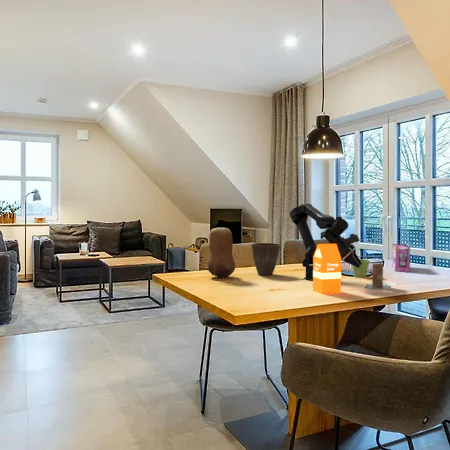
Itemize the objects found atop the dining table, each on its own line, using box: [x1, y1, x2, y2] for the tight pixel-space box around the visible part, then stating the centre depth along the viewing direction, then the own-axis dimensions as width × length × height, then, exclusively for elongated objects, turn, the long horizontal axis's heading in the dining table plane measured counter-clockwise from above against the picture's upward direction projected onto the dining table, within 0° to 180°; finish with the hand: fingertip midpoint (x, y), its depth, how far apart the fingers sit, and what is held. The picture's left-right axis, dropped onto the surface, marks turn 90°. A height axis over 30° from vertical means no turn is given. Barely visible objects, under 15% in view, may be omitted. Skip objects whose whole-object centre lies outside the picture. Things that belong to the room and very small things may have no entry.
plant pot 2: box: [351, 258, 371, 279], centre depth 222 cm, size 9×9×9 cm
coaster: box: [364, 283, 391, 291], centre depth 192 cm, size 10×10×1 cm
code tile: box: [383, 281, 397, 287], centre depth 201 cm, size 9×9×1 cm
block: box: [371, 262, 384, 288], centre depth 192 cm, size 4×5×10 cm
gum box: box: [391, 243, 411, 273], centre depth 252 cm, size 24×8×14 cm, turn 164°
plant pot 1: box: [251, 242, 281, 277], centre depth 229 cm, size 15×15×16 cm
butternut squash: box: [207, 227, 236, 279], centre depth 219 cm, size 14×13×25 cm
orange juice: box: [312, 243, 342, 295], centre depth 183 cm, size 8×9×20 cm
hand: (360, 265), depth 195 cm, fingers open, 9 cm apart
